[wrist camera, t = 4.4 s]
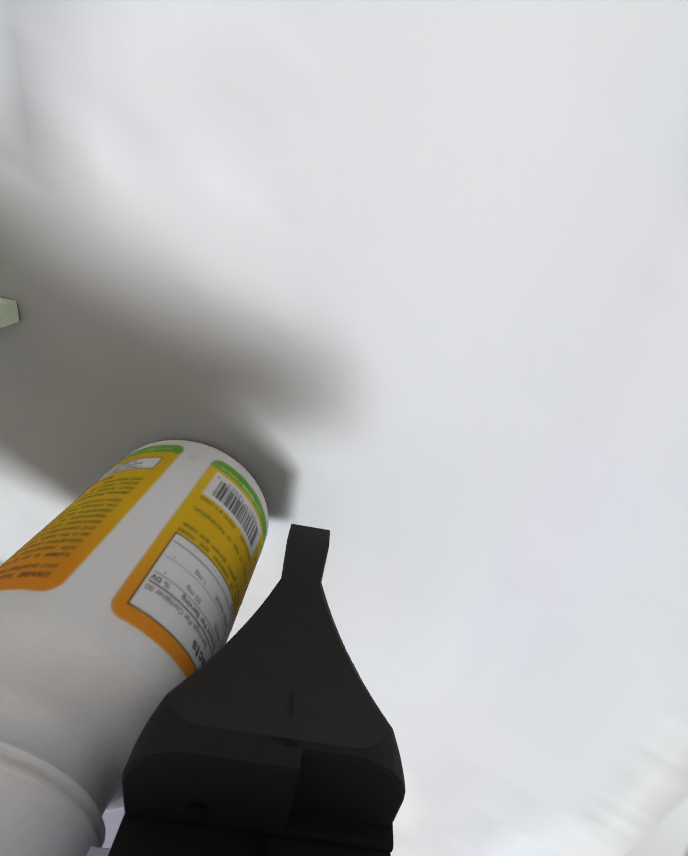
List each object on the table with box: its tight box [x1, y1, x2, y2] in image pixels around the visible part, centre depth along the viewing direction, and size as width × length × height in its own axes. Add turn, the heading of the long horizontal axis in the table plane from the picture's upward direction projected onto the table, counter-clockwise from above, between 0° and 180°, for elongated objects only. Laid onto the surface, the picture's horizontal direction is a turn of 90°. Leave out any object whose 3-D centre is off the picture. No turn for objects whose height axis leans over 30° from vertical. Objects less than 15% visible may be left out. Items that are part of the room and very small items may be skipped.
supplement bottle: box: [0, 440, 268, 856], centre depth 10 cm, size 5×5×10 cm
